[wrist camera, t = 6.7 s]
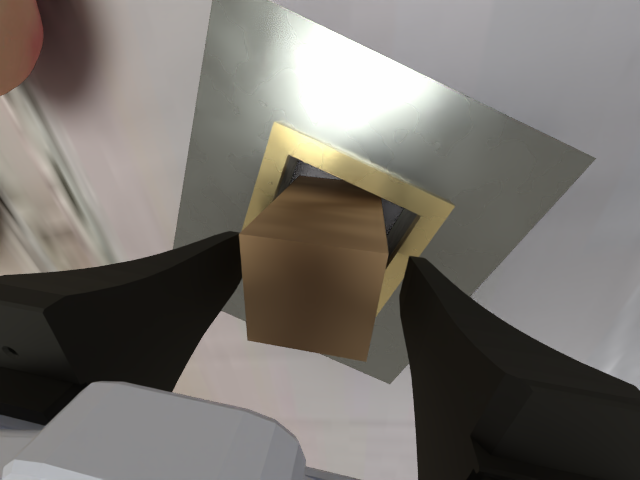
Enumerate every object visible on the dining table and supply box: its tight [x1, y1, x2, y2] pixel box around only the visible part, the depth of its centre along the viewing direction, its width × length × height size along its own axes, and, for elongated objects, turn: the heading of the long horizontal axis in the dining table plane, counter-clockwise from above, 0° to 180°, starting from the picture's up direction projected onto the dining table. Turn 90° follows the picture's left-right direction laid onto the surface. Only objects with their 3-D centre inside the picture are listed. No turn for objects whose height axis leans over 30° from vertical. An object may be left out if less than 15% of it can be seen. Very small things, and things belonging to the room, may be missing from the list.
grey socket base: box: [173, 0, 596, 384], centre depth 15 cm, size 16×16×3 cm
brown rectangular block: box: [239, 176, 389, 362], centre depth 12 cm, size 4×4×8 cm
